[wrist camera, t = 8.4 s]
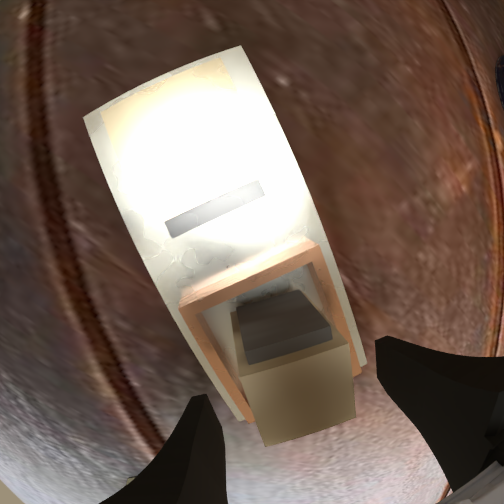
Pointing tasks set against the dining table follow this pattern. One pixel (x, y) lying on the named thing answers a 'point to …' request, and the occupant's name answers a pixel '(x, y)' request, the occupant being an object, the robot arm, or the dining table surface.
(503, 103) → the storage jar
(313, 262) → the cream holder stand
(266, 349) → the block
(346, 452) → the dining table surface
